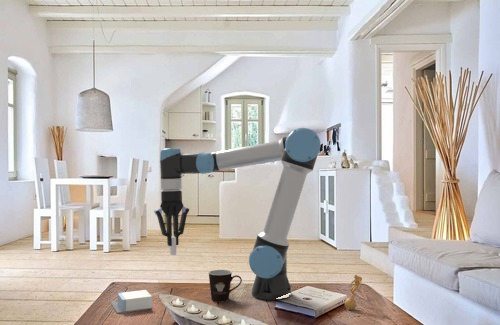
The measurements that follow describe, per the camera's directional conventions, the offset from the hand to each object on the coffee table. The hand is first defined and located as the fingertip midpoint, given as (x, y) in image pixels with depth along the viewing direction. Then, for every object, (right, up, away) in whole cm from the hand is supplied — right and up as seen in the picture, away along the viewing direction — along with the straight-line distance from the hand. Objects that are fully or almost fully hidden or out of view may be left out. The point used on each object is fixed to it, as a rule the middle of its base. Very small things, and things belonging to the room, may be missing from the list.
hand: (173, 254), depth 171 cm
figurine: (+64, -17, -10) cm, 67 cm away
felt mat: (-14, -17, -7) cm, 23 cm away
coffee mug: (+19, -17, +1) cm, 25 cm away
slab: (-8, -15, -6) cm, 18 cm away
